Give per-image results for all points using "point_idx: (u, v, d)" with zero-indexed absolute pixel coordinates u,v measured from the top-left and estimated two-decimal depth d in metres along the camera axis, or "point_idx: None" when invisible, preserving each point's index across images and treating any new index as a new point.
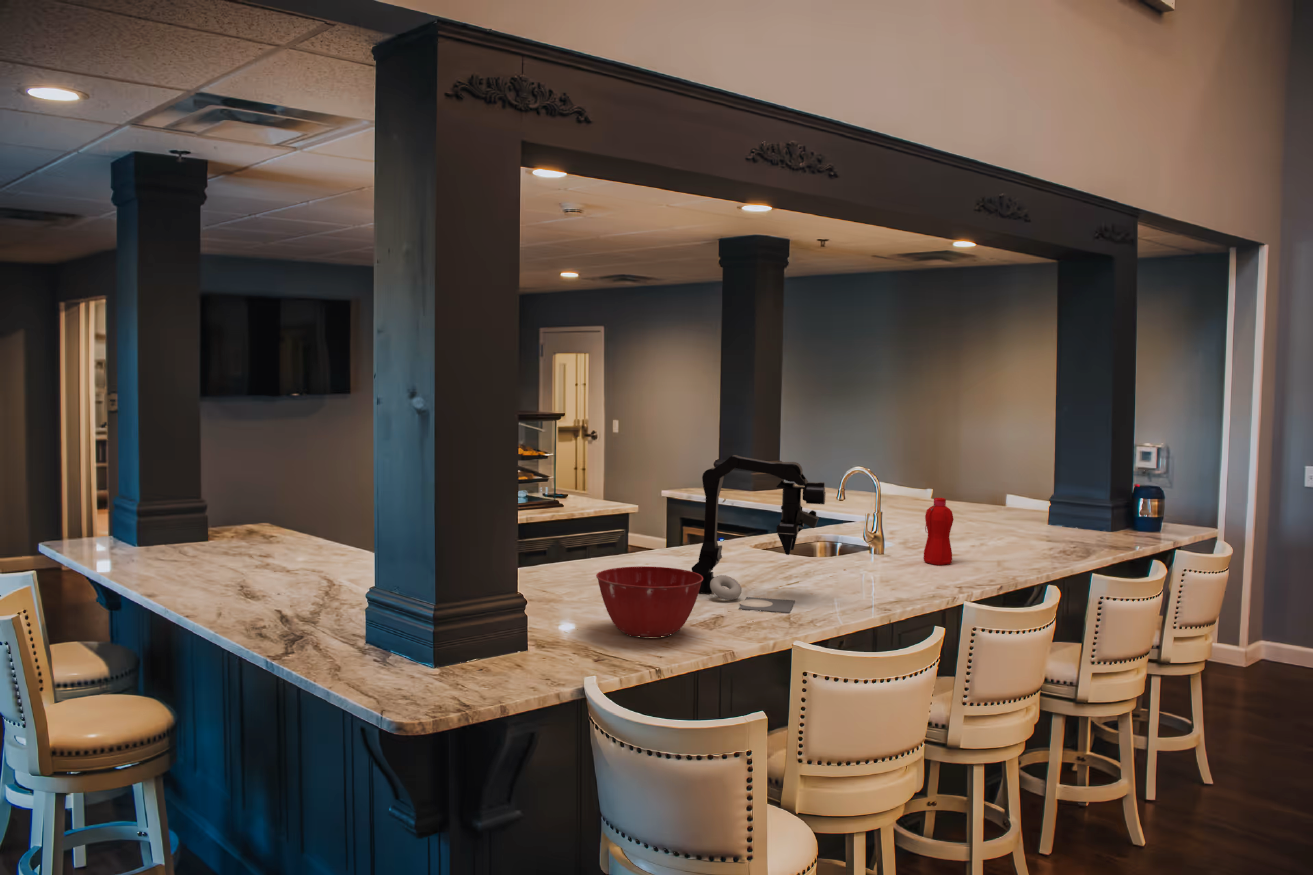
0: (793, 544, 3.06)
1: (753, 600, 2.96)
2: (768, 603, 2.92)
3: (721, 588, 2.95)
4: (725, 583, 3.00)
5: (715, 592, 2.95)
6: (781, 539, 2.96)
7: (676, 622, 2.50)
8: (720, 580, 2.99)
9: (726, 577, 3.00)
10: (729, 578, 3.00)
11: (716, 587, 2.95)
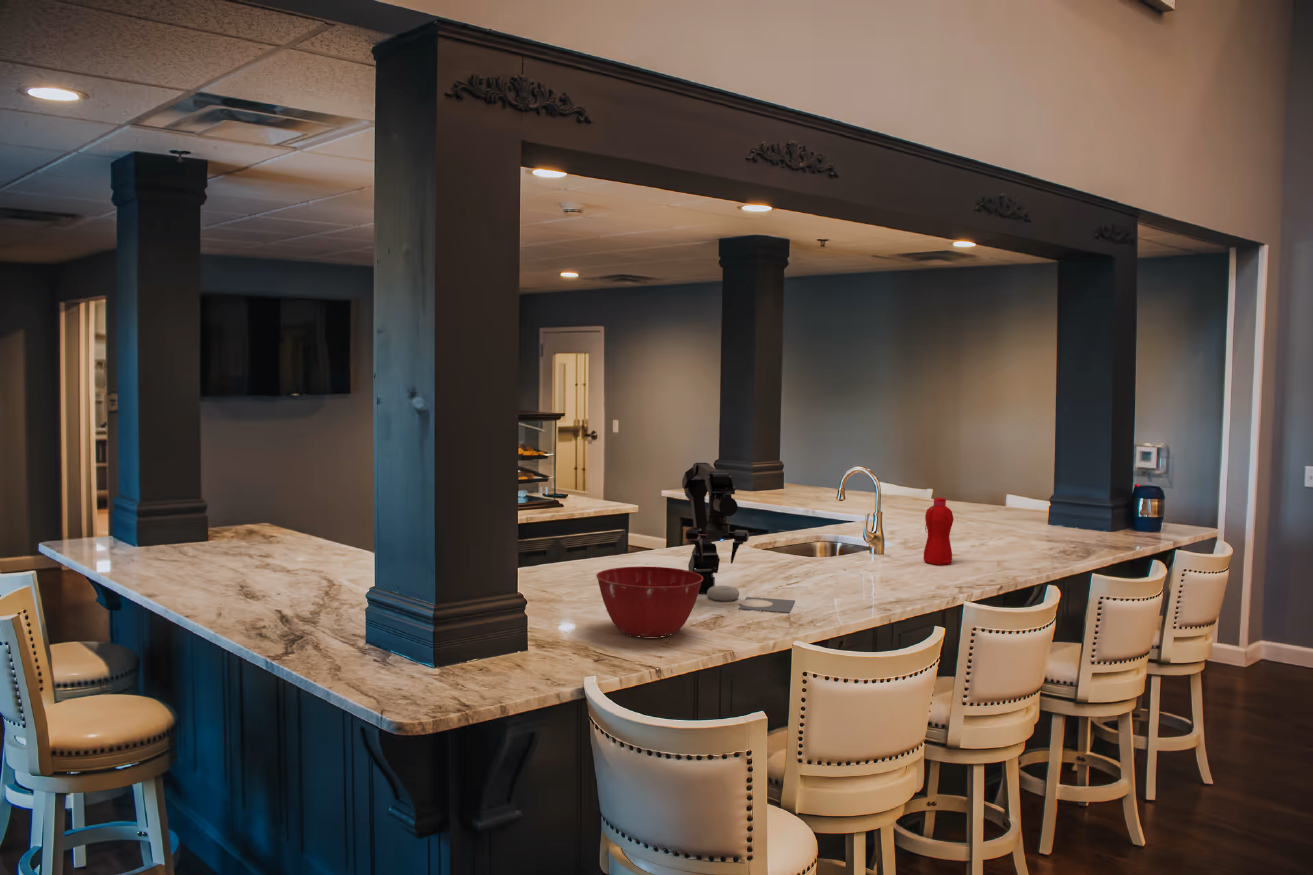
0: (731, 557, 2.94)
1: (753, 600, 2.96)
2: (768, 603, 2.92)
3: (718, 590, 2.97)
4: None
5: (713, 595, 2.96)
6: None
7: (676, 622, 2.50)
8: (716, 588, 3.01)
9: (722, 586, 3.03)
10: (724, 586, 3.03)
11: (713, 591, 2.97)
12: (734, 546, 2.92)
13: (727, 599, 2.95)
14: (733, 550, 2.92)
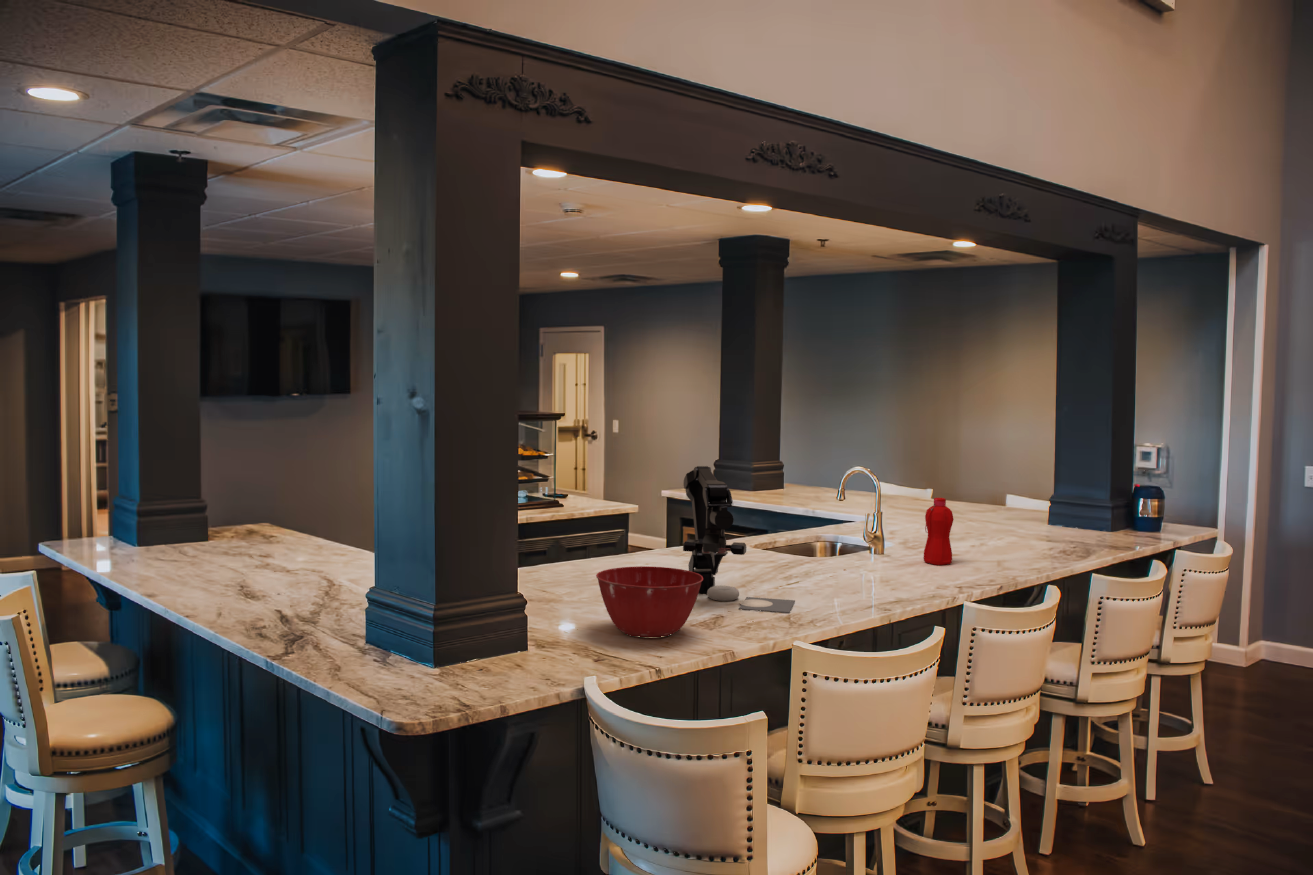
0: None
1: (753, 600, 2.96)
2: (768, 603, 2.92)
3: (718, 590, 2.97)
4: None
5: (713, 595, 2.96)
6: None
7: (676, 622, 2.50)
8: (716, 588, 3.01)
9: (722, 586, 3.03)
10: (724, 586, 3.03)
11: (713, 591, 2.97)
12: (717, 558, 2.93)
13: (727, 599, 2.95)
14: (716, 562, 2.93)
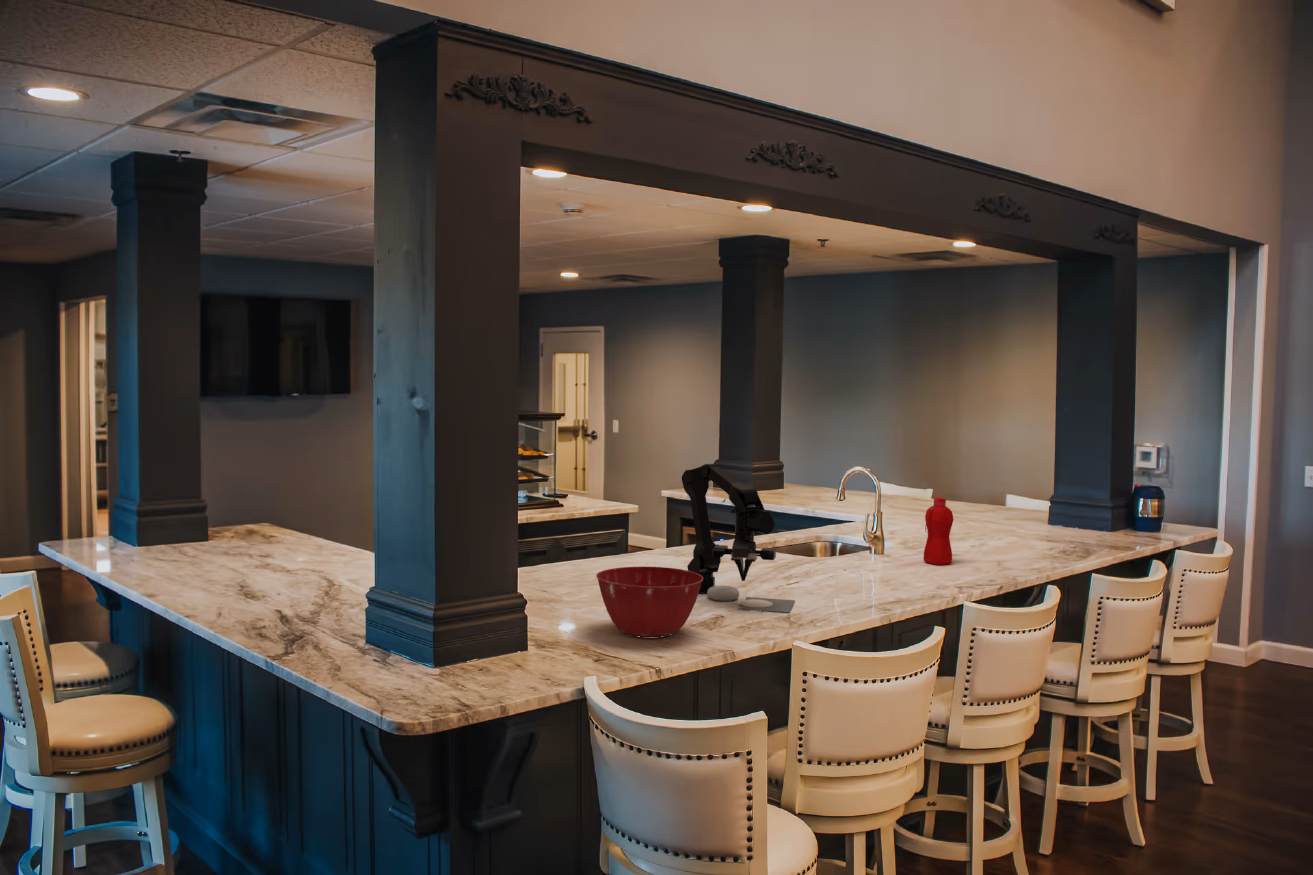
0: None
1: (753, 600, 2.96)
2: (768, 603, 2.92)
3: (718, 590, 2.97)
4: None
5: (713, 595, 2.96)
6: None
7: (676, 622, 2.50)
8: (716, 588, 3.01)
9: (722, 586, 3.03)
10: (724, 586, 3.03)
11: (713, 591, 2.97)
12: (746, 563, 2.91)
13: (727, 599, 2.95)
14: (745, 567, 2.91)
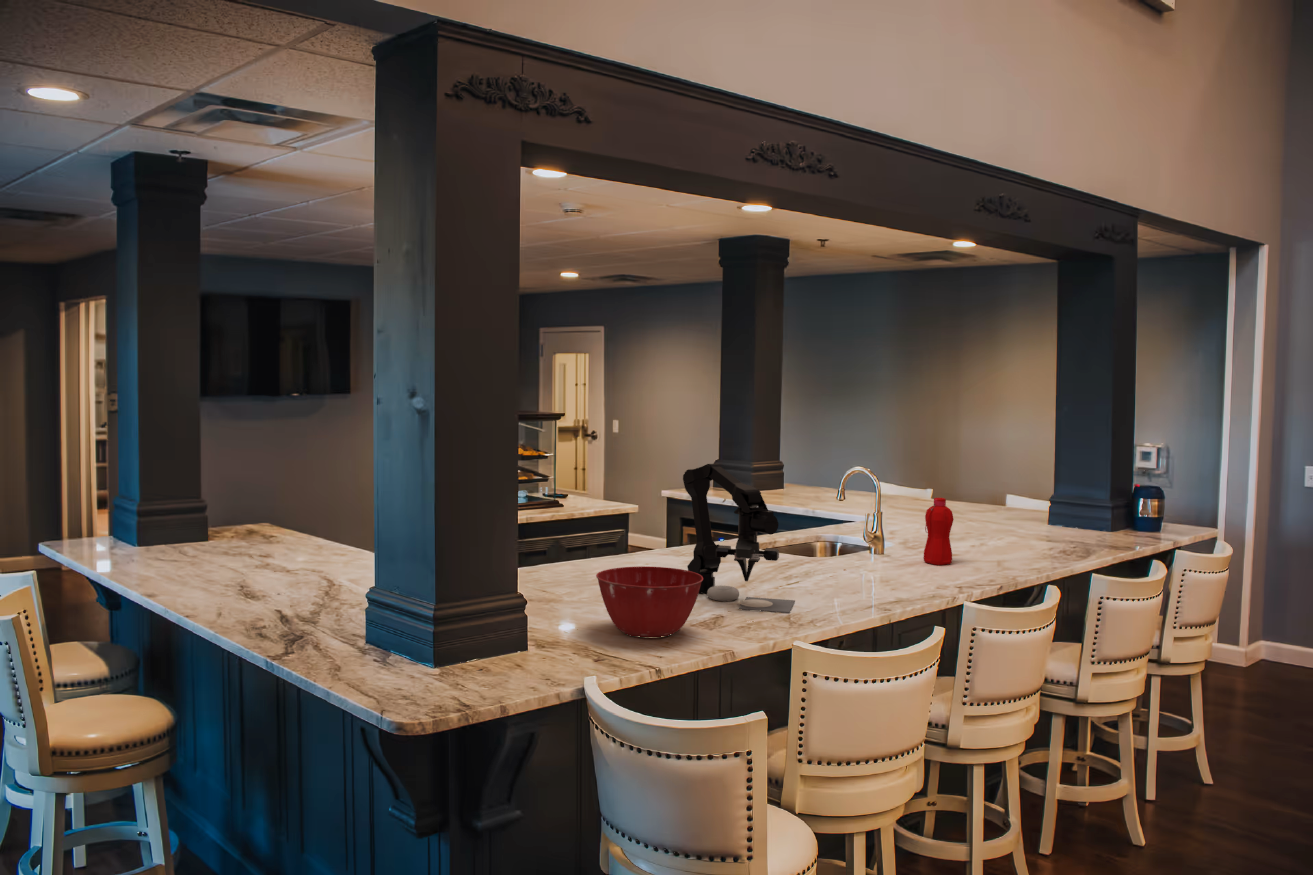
0: None
1: (753, 600, 2.96)
2: (768, 603, 2.92)
3: (718, 590, 2.97)
4: None
5: (713, 595, 2.96)
6: None
7: (676, 622, 2.50)
8: (716, 588, 3.01)
9: (722, 586, 3.03)
10: (724, 586, 3.03)
11: (713, 591, 2.97)
12: (749, 564, 2.90)
13: (727, 599, 2.95)
14: (748, 568, 2.91)
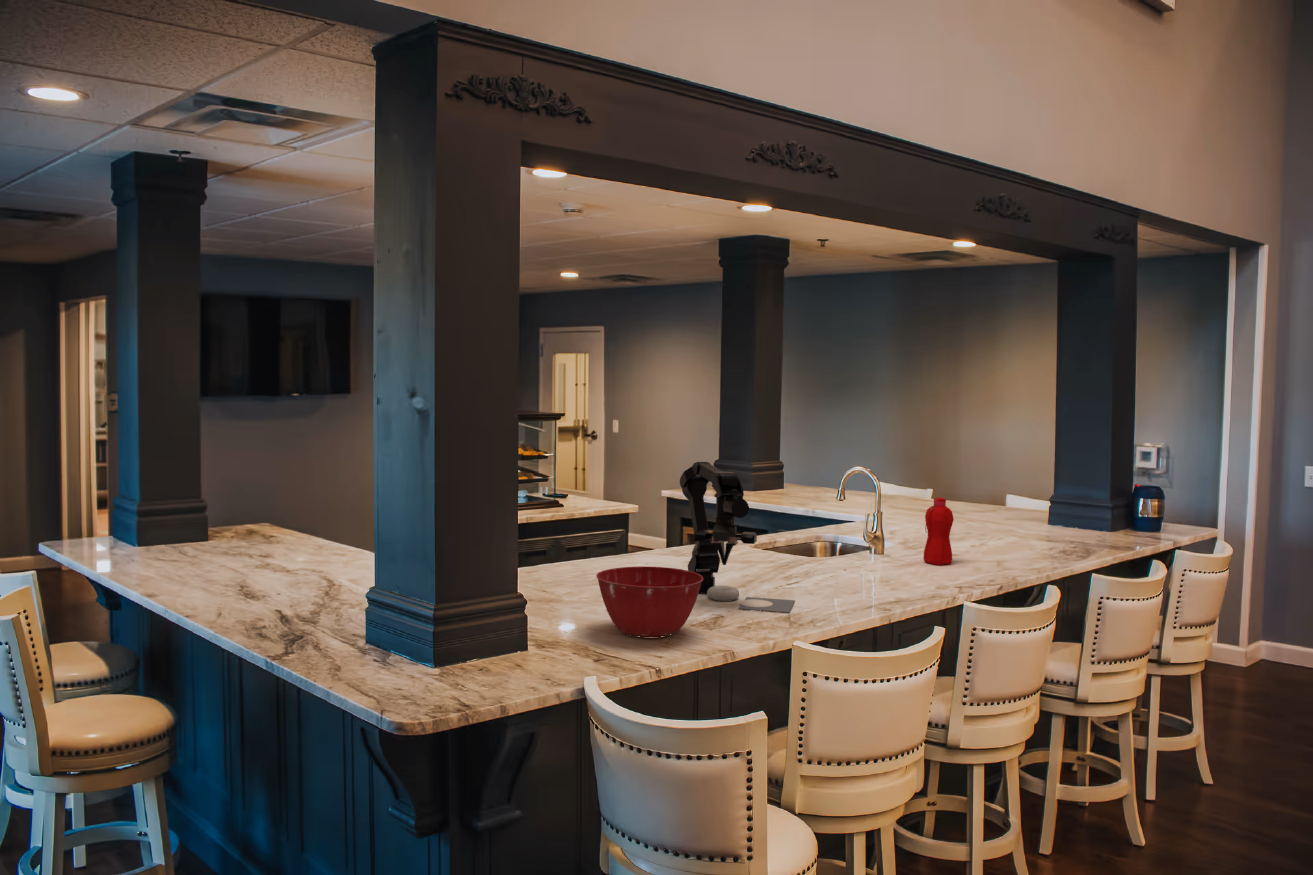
0: None
1: (753, 600, 2.96)
2: (768, 603, 2.92)
3: (718, 590, 2.97)
4: None
5: (713, 595, 2.96)
6: None
7: (676, 622, 2.50)
8: (716, 588, 3.01)
9: (722, 586, 3.03)
10: (724, 586, 3.03)
11: (713, 591, 2.97)
12: (727, 547, 2.92)
13: (727, 599, 2.95)
14: (726, 551, 2.92)
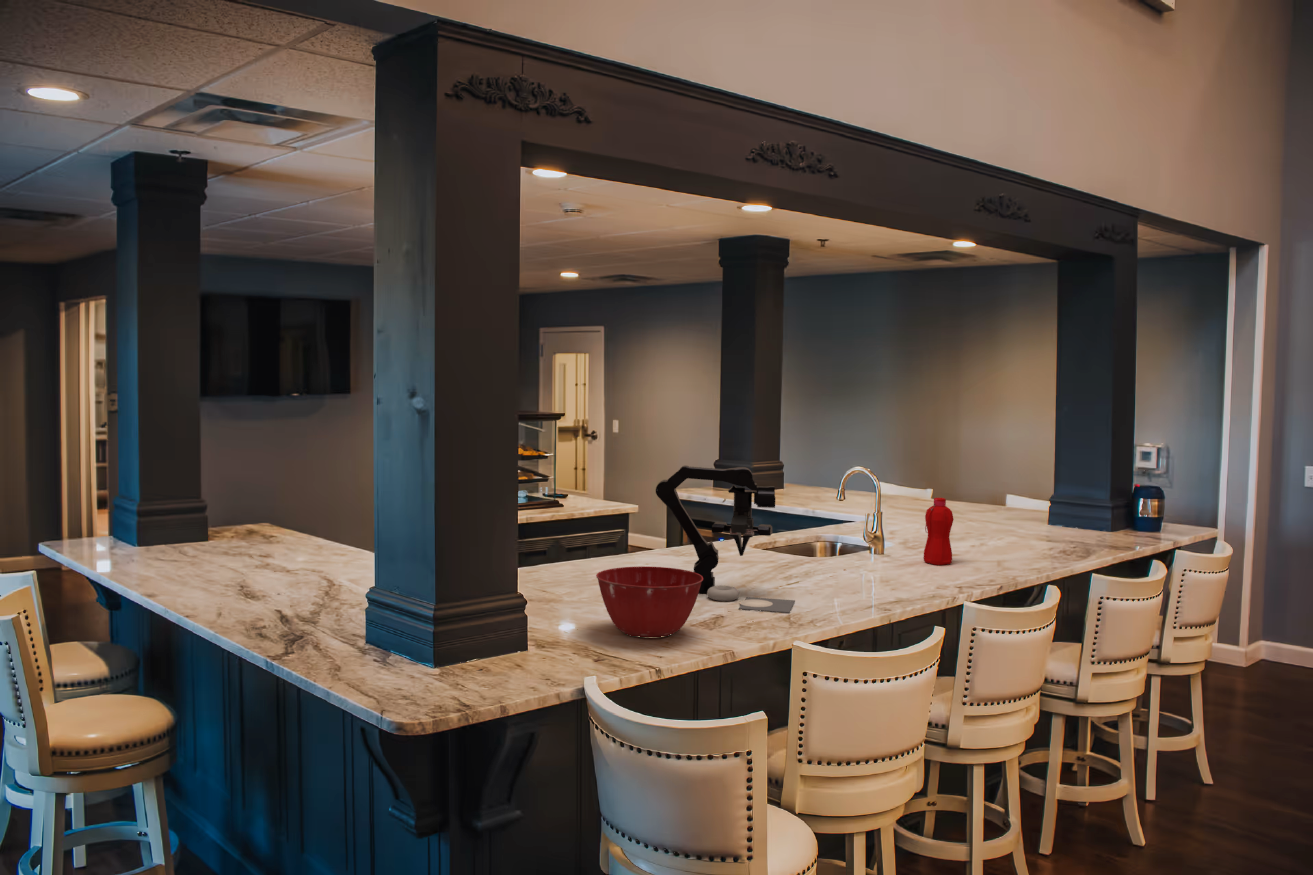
0: None
1: (753, 600, 2.96)
2: (768, 603, 2.92)
3: (718, 590, 2.97)
4: None
5: (713, 595, 2.96)
6: None
7: (676, 622, 2.50)
8: (716, 588, 3.01)
9: (722, 586, 3.03)
10: (724, 586, 3.03)
11: (713, 591, 2.97)
12: (744, 539, 3.06)
13: (727, 599, 2.95)
14: (743, 543, 3.06)
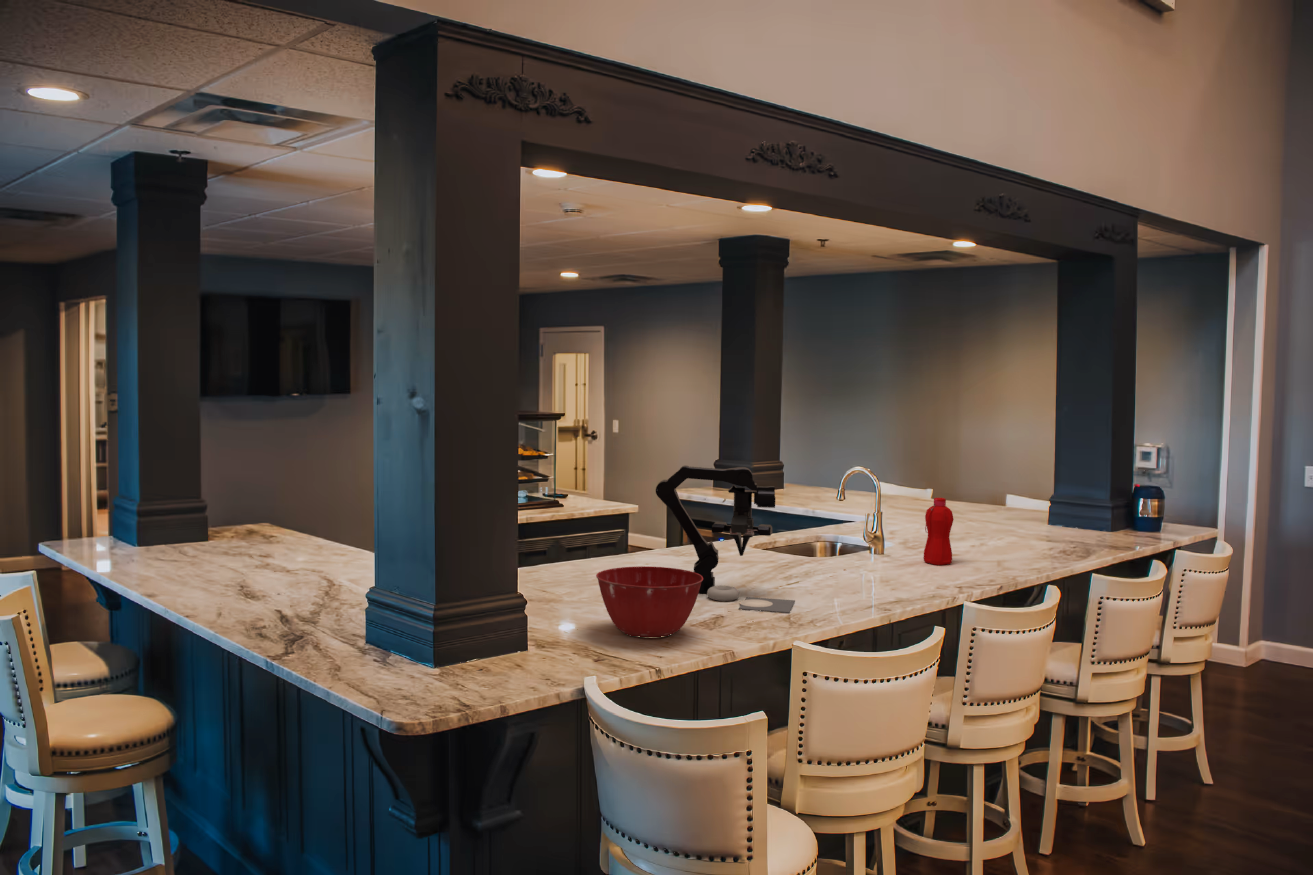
0: None
1: (753, 600, 2.96)
2: (768, 603, 2.92)
3: (718, 590, 2.97)
4: None
5: (713, 595, 2.96)
6: None
7: (676, 622, 2.50)
8: (716, 588, 3.01)
9: (722, 586, 3.03)
10: (724, 586, 3.03)
11: (713, 591, 2.97)
12: (744, 539, 3.06)
13: (727, 599, 2.95)
14: (743, 543, 3.06)
